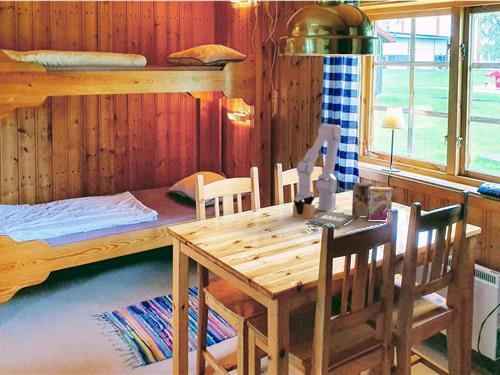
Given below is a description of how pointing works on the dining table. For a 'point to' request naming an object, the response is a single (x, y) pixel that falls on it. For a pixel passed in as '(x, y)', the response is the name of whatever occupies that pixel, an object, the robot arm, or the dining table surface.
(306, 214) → the block
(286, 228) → the dining table surface
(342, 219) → the pin board
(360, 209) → the coffee box
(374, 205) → the candy bar box
